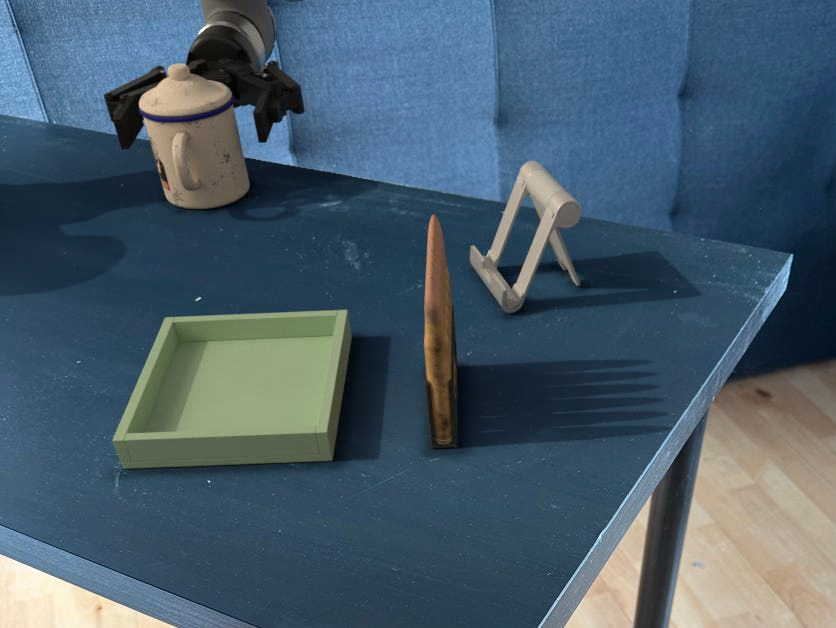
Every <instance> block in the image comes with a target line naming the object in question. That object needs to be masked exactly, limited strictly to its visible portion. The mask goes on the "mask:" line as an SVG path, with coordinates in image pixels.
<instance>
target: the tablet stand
mask: <svg viewBox="0 0 836 628" xmlns="http://www.w3.org/2000/svg"><path fill="white" fill-rule="evenodd" d="M527 196H530V199H531V202H532V204H533V205H534V206H533V207H534V209H535V211H536V214H537V217H538V218H539V225H538V227H537V229H536V232H535V235H534V236H533V237H534V238H533V240H532V242H531V245H530V247H529V249H528V252H527V255H526V257H525V260H524V263H523V264H522V267H521V270H520V272H519V275H518V278H517V280H516V282H515V283H514V284H513V285H512V287H511V286H510V285H509V284H508V282H507V281H506V279H504V276H502V274H501V273H500V272H499V270H498V266H499V264H500V261H501V259H502V255H503V254H504V251H505V248H506V245H507V243H508V240H509V237H510V234H511V232H512V229H513V227H514V223H515V221H516V218H517V216H518V213H519V210H520V208H521V205H522V203H523V200H524V198H526V197H527ZM581 218H582V207H581V205H580V203H579V202H578V201H577V200H576V199H575V198H574V197H573V196H572V195H571V194H570V193H569V192H568V191H567V190H566V188H564V187H563V186H562V185H561V183H560V182H558V181H557V180H556V178H554V177H553V176H552V175H551V174H550V173H549V172H548V171H547V170H546V168H545V167H544V166H543V165H542V164H540V162H538V161H536V160H529V161H527V162H525V163H524V164H522V165H521V167H520V169H519V171H518V173H517V177H516V179H515V182H514V184H513V188H512V190H511V193H510V196H509V198H508V201H507V204H506V207H505V209H504V211H503V215H502V217H501V220H500V222H499V225H498V228H497V230H496V232H495V233H496V234H495V236H494V239H493V242H492V244H491V247H490V249H488V251H487V253H486V255H482V253H481V252H480V251H479V249H478V248H477V247H476V245H470V250H469V251H470V253H469V263H470V265H471V266H472V268H473V269H474V270H475V272H476V273H477V274H478V276H479V278H480V279H481V280H482V282H483V283H484V284H485V286H486V287H487V289H488V290H489V291H490V293H491V294H492V296H493V298H495V300H496V302H497V303H498V305H499V306H500V307H501V308H502V310H503V311H504V312H505V313H509V314H513V313H516V312H518V311H519V310H520V309H522V307H523V305H524V302H525V300H526V297H527V295H528V292H529V290H530V287H531V285H532V282H533V280H534V277H535V275H536V272H537V270H538V268H539V265H540V263H541V260H542V258H543V255H544V253H545V250H546V248H547V245H548V243H549V245H550V247H551V250H552V252H553V255H554V257H555V259H556V262H557V264H558V265H559V266H560V268H561V269H562V270H563V271H564V272H565V271H568V273H569V275H570V278H571V280H572V282H573V283H574V284H575V285H576V287H580V286H581V281H580V280H579V277H578V275H577V272H576V270H575V267H574V265H573V262H572V260H571V257H570V254H569V252H568V250H567V247H566V245H565V242H564V240H563V238H562V235H561V232H560V229H566V230H567V229H571V228H573V227H575V226H576V225H577V224H578V223H579V221H580V219H581Z"/></svg>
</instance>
